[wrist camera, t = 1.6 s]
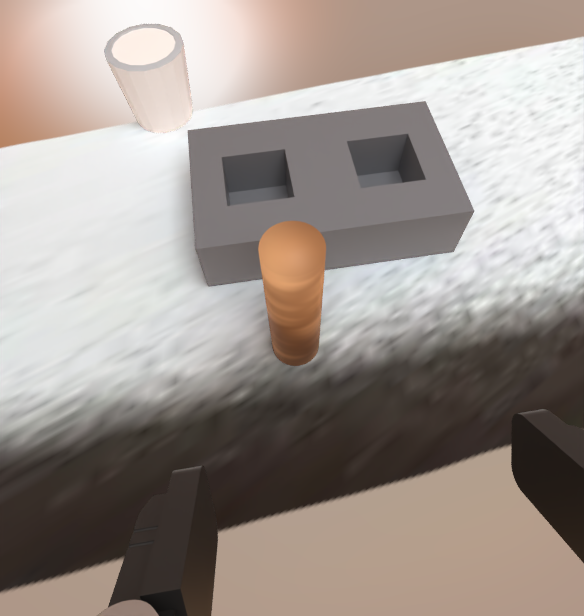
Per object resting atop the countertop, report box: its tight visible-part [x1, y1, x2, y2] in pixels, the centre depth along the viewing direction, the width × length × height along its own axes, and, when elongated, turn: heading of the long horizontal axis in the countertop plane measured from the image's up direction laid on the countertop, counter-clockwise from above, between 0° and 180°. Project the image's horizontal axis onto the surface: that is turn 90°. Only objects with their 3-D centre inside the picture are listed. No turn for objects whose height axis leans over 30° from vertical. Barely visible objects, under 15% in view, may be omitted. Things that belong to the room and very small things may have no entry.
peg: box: [258, 221, 326, 366], centre depth 28 cm, size 3×3×12 cm
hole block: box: [188, 101, 474, 286], centre depth 37 cm, size 20×12×5 cm, turn 99°
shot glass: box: [104, 24, 193, 133], centre depth 42 cm, size 7×7×7 cm
